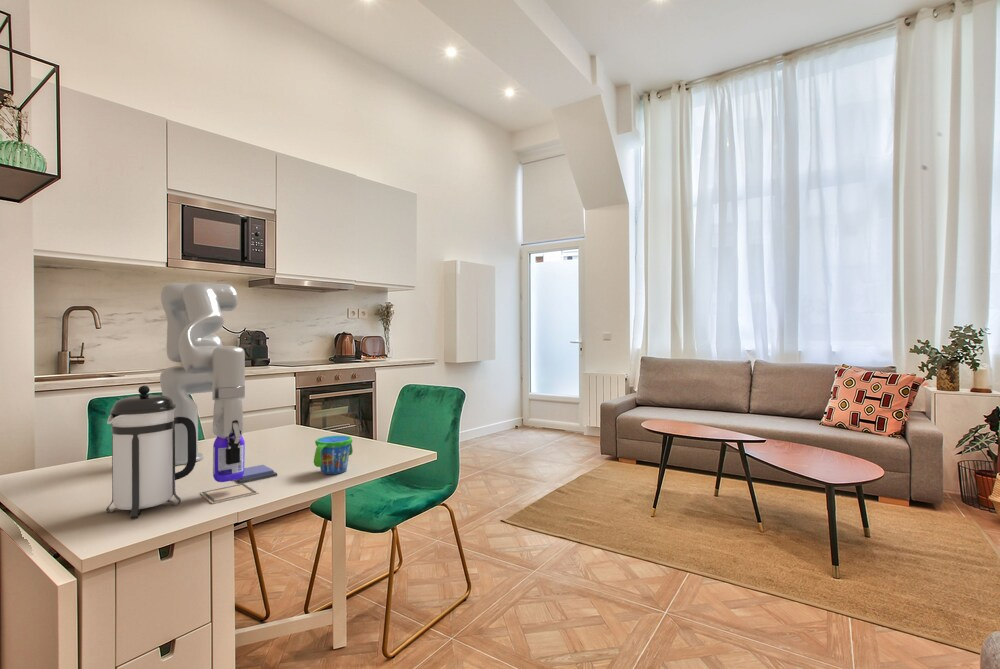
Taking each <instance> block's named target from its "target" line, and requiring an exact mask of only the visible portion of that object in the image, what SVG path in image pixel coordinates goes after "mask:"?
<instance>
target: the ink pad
mask: <svg viewBox="0 0 1000 669" xmlns="http://www.w3.org/2000/svg"><path fill="white" fill-rule="evenodd" d="M277 476H278V473H277V472H276V471H275V470H274V469H272V468H270V467H269V466H267V465H265V464H259V465H253V466H248V467H244V474H243V477H242V478H241V479H238V480H237V482H238V483H239V484H243V483H245V484H246V483H250V482H254V481H259V480H263V479H269V478H274V477H277Z"/></svg>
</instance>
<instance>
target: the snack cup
mask: <svg viewBox="0 0 1000 669" xmlns="http://www.w3.org/2000/svg"><path fill="white" fill-rule="evenodd" d="M314 443H315V446H316V448H315V452H314V456H313V464H314V466H315V467H317V468H320V472H321V473H322V474H325V475H337V474H341V473H344V472H345V471H347V469H348V463H349V459H350V458H349V457H350V456H351V455H352V454H353V445H352V443H353V437H351V436H349V435H348V436H347V435H328V436H327V435H326V436H322V437H318V438H316V439H315V441H314Z"/></svg>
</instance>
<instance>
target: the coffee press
mask: <svg viewBox="0 0 1000 669" xmlns="http://www.w3.org/2000/svg"><path fill="white" fill-rule="evenodd" d="M137 391H138V393H139V395H135V396H128V397H124V398H120V399H119V400H117V401H115V403H114V404H113V406H112V408H111V409H110V413H109V416H108V418H107V421H106V424H107V425H111V428H110V429H111V430H110V431H111V452H112V453H111V464H112V465H111V470H112V472H111V473H112V474H111V477H112V478H111V480H112V481H111V482H112V483H111V484H112V485H111V486H112V490H111V491H112V492H111V494H112V495H111V496H112V498H111V502H110V504H108V506H107V507H106V509H105V511H106V512H107V513H108V514H112V513H113V512H114V511H115V510H118V509H119V510H123V511H124V510H126V511H130V514H129V515H130V519H131V520H133V519H139V517H140V514H141V511H142V510H144V509H148V508H153V507H157V506H159V505H162V504H164V503H170V504H171V505H173V506H175V505H176V506H179V505H180V504H181V501H182V499H181V497H179V496H178V495H177V492H176V481H177V480H180V479H183V478H185V477H187V476H188V475H189V474H190V473H192V472H193V470H194V468H195V466H196V462H197V461H196V428H195V425H194V423H193V421H192V420H190V419H189V418H186V417H176V418H174V410H175V408H176V404H174V403H173V401H172V399H171V398H169V397H167V396H163V395H162V394H160V395H159V394H149V392H150V391H151V389H150V387H149V386H148V385H141V386H140V387H139V388H138V389H137ZM181 423H182V424H184V425H185V426H186V428H187V433H188V461H187V464H185V466H184V468H183V469H182V470H180V471H178V472H176V465H175V424H181ZM173 497H174V498H175V500H177V501H178V503H177V502H175V501H174V500H172V498H173ZM112 504H113V506H114V507H115V509H113V510H112V509H110V507H111V505H112Z"/></svg>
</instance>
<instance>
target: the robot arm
mask: <svg viewBox="0 0 1000 669" xmlns="http://www.w3.org/2000/svg"><path fill="white" fill-rule="evenodd" d="M160 302H161V306H162V308H163V311H164V314H165V316H166V320H167V321H166V322H167V325H166V328H167V329H166V354H167V355H166V356H167V358H168V360H170V361H171V362H173V363H174V362H175V363H181V364H182V365H175V366H169V367H167V368H165V369H163V370H162V371H161V373H160V376H159V384H160V389H161V395H162V396H167V397H169V398H171V399H172V401H173V403H174V404H176V408H175V410H174V418H176V417H186V418H189V419H190V420H192V421H193V423H194V425H195V428H196V462H199V461H201V460H203V458H204V453H202V452H199V409H198V405H197V403H196V401H194V399H192V398H191V397H190V395H194V394H202V393H212V401H214V402H213V403H214V404H213V413H212V414H213V416H212V434H213V435H215V436H216V437H217V436H218V437H220V438H222V439H225V438H226V440H227V449H226V464H227V465H229V464H234V463H239V462H240V439H241V435H242V436H243V434H244V413H243V411H244V410H243V400H242V399H245V398H246V396H245V395H246V374H245V373H246V372H245V371H246V369H245V368H246V366H245V365H246V362H245V361H246V360H245V358H246V357H245V354H246V353H245V350H244V348H242V347H240V346H235V345H223V341H222V339H221V337H219V335H217V334H215V333H217V332H218V331H220V329H222V327H224V323H225V318H224V314H223V312H232V311H235V309H236V308H237V306H238V303H239V296H238V293H237V290H236V288H235V287H233V285H231V284H228V283H216V282H215V283H214V282H202V281H199V282H197V281H196V282H192V283H191V282H189V283H188V282H172V283H168V284H165V285H164V286H163V287H162V288H161V291H160ZM239 430H240V431H239ZM231 434H233V435H234V436H231V437H229V435H231ZM230 439H233V440H232V441H231V443H230ZM187 461H188V433H187V428H186V426H185V425H184V424H182V423H181V424H175V466H178V465H180V466H181V465H187Z"/></svg>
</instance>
